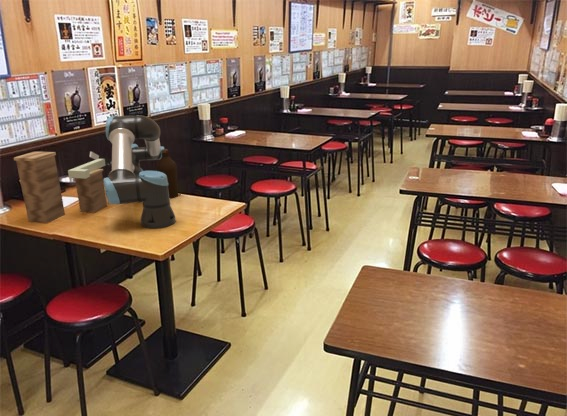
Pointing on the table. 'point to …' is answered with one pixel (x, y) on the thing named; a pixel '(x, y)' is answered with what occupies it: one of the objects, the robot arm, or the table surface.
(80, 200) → the short wooden block stack
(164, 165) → the olive oil
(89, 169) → the crook
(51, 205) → the tall wooden block
